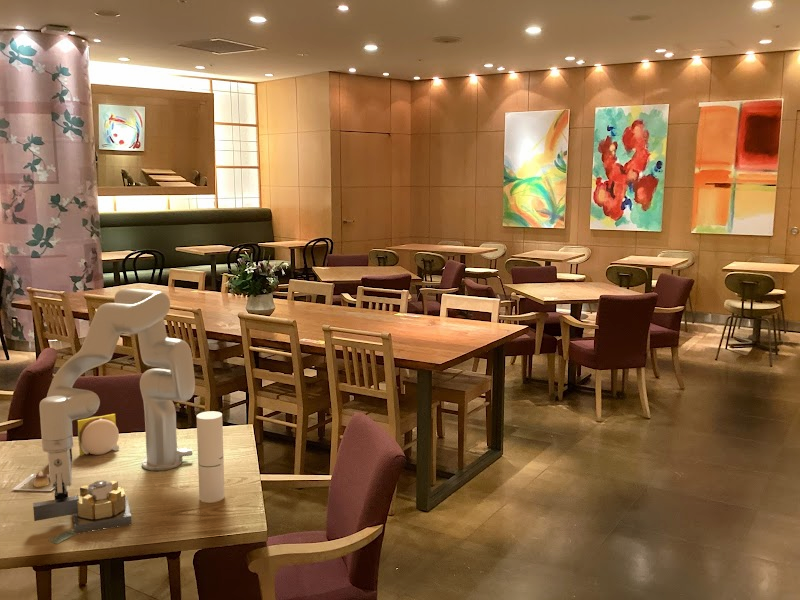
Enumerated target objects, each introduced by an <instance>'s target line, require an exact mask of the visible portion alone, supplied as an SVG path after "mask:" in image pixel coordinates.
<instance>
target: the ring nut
mask: <svg viewBox="0 0 800 600" xmlns="http://www.w3.org/2000/svg"><path fill="white" fill-rule="evenodd" d="M110 482H111V483H112V491H111V492H109V497H110V498H109V499H106V500H100V501H94V495H90V494H89V491H88V486H89V485H87V484H84V485H82V486H80V487H79V493H78V494H77V495H75V496H73V495H72V496H68V497H67V498H61V499H55V498H54V499H49V500H46V501H38V502H33V503H32V504H33V505H32V506H33V507H32V508H33V520H34V522H39V521H43V520H49V519H55V518H60V517H66V516H72V515H74V514H78V516H80V517H82V518H88V519H94V518H95V519H100V518H106V517H111V516H112V515H116V514H118V513H119V512H121V511H122V510H124V509H125V508H126V501H125V496H126V493H125V490H124V488H123V487H121V486H119V481H117V480H110Z"/></svg>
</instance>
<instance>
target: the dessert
mask: <svg viewBox="0 0 800 600" xmlns="http://www.w3.org/2000/svg"><path fill="white" fill-rule="evenodd" d="M33 479H34V480H33ZM49 479H50V473H44V472H42V470H39V471H38V472H37V473H31V474H30V475H29V476H27V477H25V479H23V480H22V481H20V483H18V484H17V485H16V486H13V488H11V491H17V492H19V491H20V492H23V491H25V492H51V491H53V490H55V487H54V488H52V487H51V489H21V488H22V487H23V486H25V485H26V484H27V483H29V482H30V481H31V480H33V485H34V486H33V485H32V486H33V487H35V486H36V488H38V486H42V487H46V486H48V485H49V484H51V481H50V480H49ZM24 484H25V485H24ZM47 484H48V485H47ZM45 485H46V486H45Z"/></svg>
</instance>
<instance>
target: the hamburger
mask: <svg viewBox="0 0 800 600" xmlns="http://www.w3.org/2000/svg"><path fill="white" fill-rule="evenodd" d="M116 420H117V419H116V413H111V414H105V415H100V416H90V417H87V418H82V419H77V438H78V439H77V440H78V448H79V451H78V452H79V456H80V455H81V456H85V455H84V454H86V455H89V453H90V454H92V455H96V456H98V455H99V456H100V455H105V454H107V453H108V452H110V451H119V450H120V446H119V445H118V441H119V437H120V435H119V434H120V433H119V432H120V431H119V429H118V427H117V423H116Z"/></svg>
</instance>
